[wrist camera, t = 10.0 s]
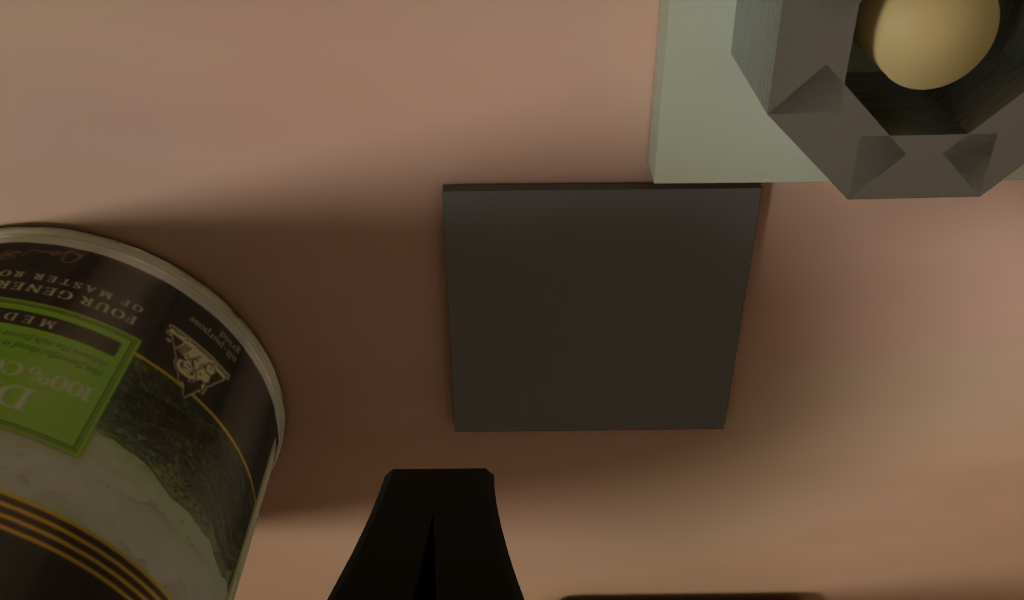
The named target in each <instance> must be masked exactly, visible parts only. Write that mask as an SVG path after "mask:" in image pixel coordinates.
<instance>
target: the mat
mask: <svg viewBox="0 0 1024 600" xmlns="http://www.w3.org/2000/svg"><path fill="white" fill-rule="evenodd" d="M761 191H762V187H761V185H760V183H759V182H750V183H611V184H510V185H443V190H442V194H443V213H444V232H445V251H446V270H447V288H448V307H449V326H450V345H451V364H452V383H453V402H454V421H455V432H487V431H577V430H667V429H724V424H725V418H726V412H727V406H728V399H729V393H730V387H731V380H732V374H733V368H734V361H735V355H736V349H737V343H738V336H739V330H740V324H741V317H742V311H743V305H744V298H745V292H746V286H747V280H748V273H749V267H750V261H751V254H752V248H753V242H754V235H755V229H756V223H757V217H758V210H759V204H760V198H761Z"/></svg>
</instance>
